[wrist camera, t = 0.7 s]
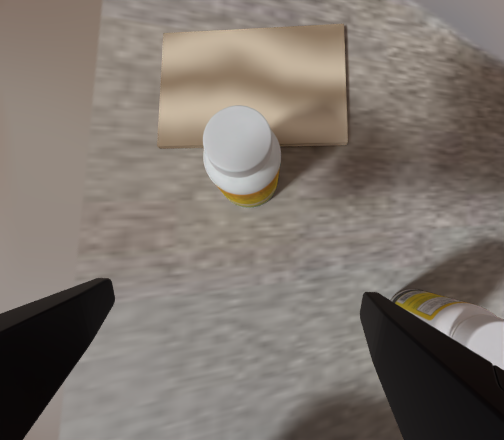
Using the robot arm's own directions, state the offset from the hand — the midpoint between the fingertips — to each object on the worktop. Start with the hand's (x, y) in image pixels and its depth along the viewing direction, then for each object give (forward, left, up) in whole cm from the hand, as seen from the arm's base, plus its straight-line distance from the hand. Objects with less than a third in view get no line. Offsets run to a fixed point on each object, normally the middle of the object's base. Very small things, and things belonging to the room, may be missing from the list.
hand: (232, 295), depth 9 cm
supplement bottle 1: (+8, +1, -14) cm, 16 cm away
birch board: (+17, +2, -14) cm, 22 cm away
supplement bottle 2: (-3, -14, -14) cm, 20 cm away
